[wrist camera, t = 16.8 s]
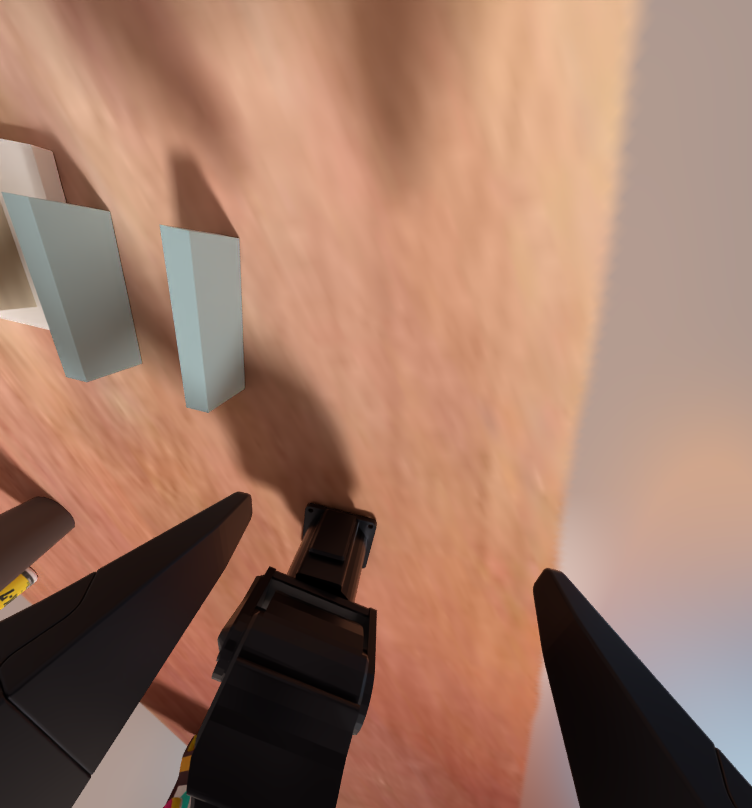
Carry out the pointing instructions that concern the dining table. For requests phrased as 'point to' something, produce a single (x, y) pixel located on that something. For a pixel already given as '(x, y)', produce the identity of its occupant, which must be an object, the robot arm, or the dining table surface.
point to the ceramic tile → (34, 177)
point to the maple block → (12, 272)
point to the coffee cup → (29, 535)
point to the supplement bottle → (17, 586)
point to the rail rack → (109, 305)
